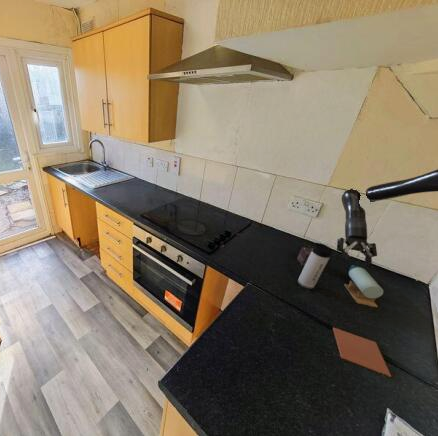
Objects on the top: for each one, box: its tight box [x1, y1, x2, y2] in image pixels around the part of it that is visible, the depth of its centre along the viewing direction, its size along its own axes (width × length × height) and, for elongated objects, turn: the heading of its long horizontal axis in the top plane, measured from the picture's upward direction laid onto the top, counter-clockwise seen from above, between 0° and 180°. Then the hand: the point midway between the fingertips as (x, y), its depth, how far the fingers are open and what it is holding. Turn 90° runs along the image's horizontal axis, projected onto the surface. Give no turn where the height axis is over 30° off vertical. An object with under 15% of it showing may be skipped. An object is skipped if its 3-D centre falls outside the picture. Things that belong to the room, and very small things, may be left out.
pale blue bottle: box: [348, 264, 384, 299], centre depth 96 cm, size 16×6×6 cm, turn 164°
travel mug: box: [297, 242, 333, 290], centre depth 96 cm, size 6×7×20 cm
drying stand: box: [343, 280, 379, 308], centre depth 95 cm, size 11×7×4 cm, turn 164°
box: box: [296, 246, 313, 267], centre depth 112 cm, size 6×6×7 cm
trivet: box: [332, 326, 392, 378], centre depth 73 cm, size 12×12×1 cm
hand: (356, 263), depth 101 cm, fingers open, 8 cm apart
